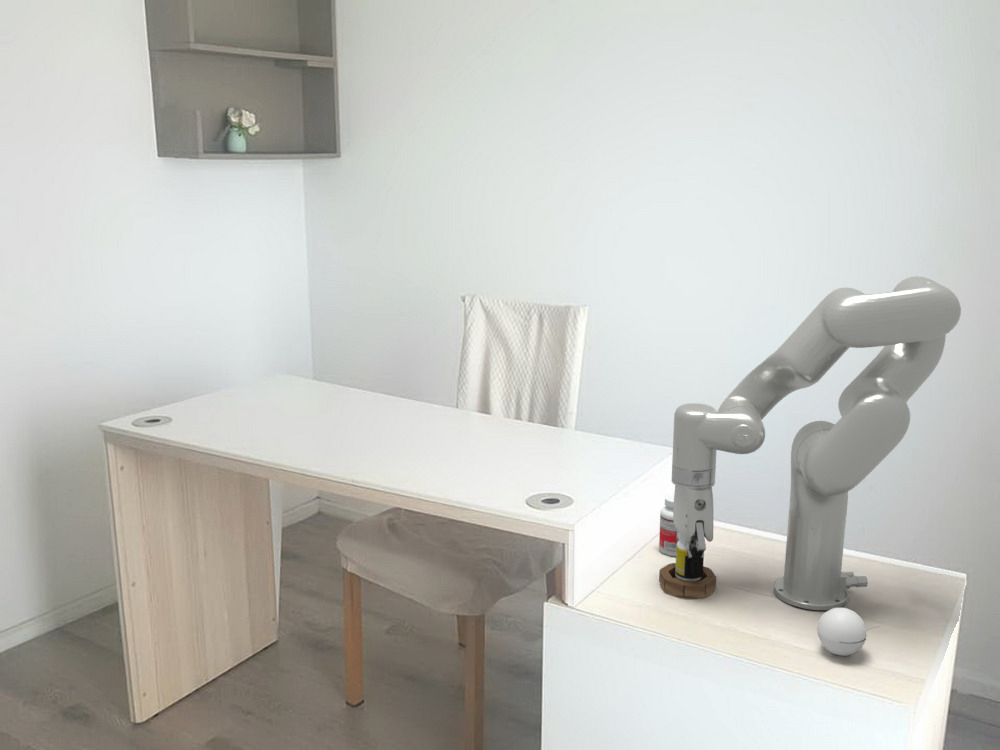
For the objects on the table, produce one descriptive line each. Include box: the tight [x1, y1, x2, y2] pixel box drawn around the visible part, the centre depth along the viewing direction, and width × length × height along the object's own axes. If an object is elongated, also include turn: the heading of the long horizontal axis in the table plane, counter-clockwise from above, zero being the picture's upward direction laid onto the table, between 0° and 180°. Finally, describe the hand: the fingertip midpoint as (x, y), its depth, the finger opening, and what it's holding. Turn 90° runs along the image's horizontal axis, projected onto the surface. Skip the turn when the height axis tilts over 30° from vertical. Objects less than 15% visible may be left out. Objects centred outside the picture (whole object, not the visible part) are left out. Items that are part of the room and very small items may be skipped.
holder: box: [658, 562, 717, 600], centre depth 177 cm, size 10×10×3 cm
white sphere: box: [817, 607, 880, 656], centre depth 154 cm, size 10×7×7 cm
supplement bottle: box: [675, 532, 701, 582], centre depth 176 cm, size 5×5×8 cm
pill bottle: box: [658, 493, 678, 557], centre depth 192 cm, size 6×6×11 cm
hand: (689, 569), depth 177 cm, fingers closed on supplement bottle, 4 cm apart
